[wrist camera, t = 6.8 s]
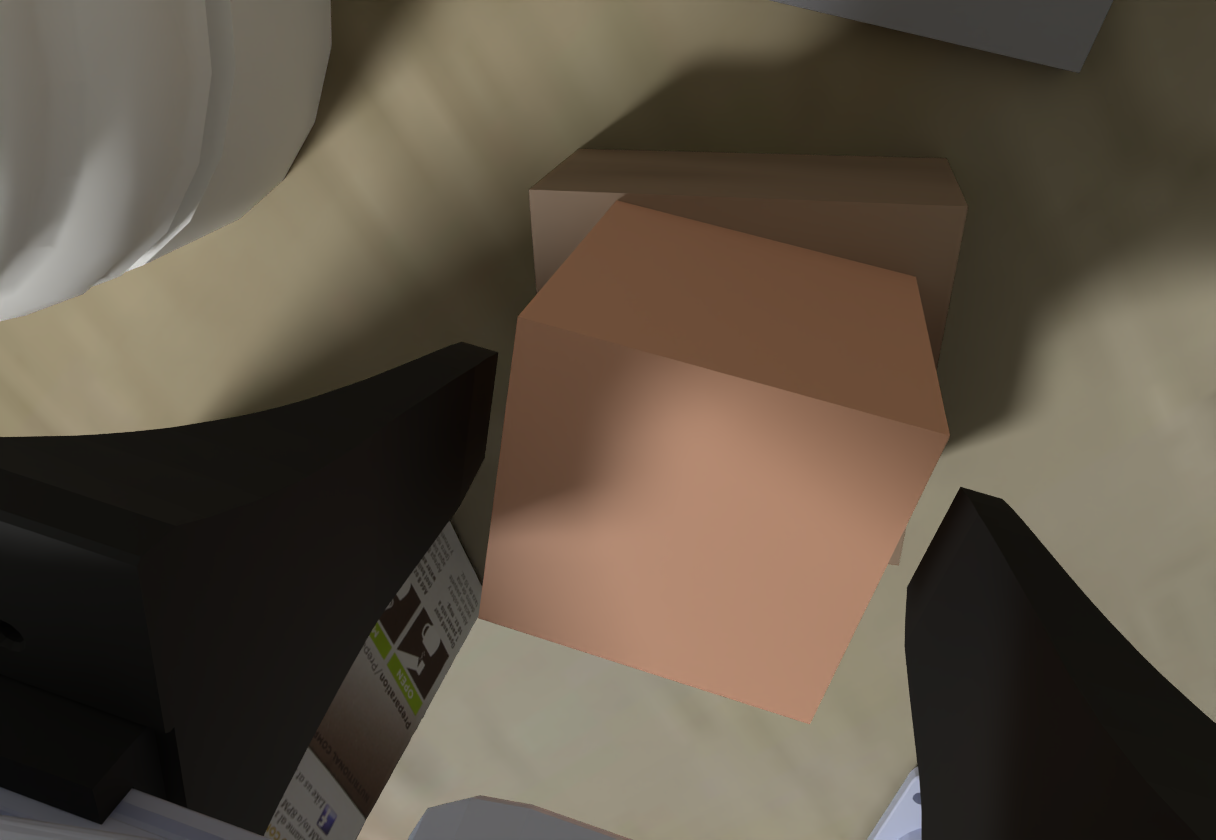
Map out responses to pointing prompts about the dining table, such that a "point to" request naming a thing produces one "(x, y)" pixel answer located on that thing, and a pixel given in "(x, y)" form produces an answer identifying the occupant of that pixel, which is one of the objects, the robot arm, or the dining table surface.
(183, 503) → the robot arm
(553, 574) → the terracotta block
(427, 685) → the coffee box
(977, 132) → the dining table surface
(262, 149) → the honey pot
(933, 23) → the card
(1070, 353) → the dining table surface
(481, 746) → the dining table surface
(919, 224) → the walnut base
